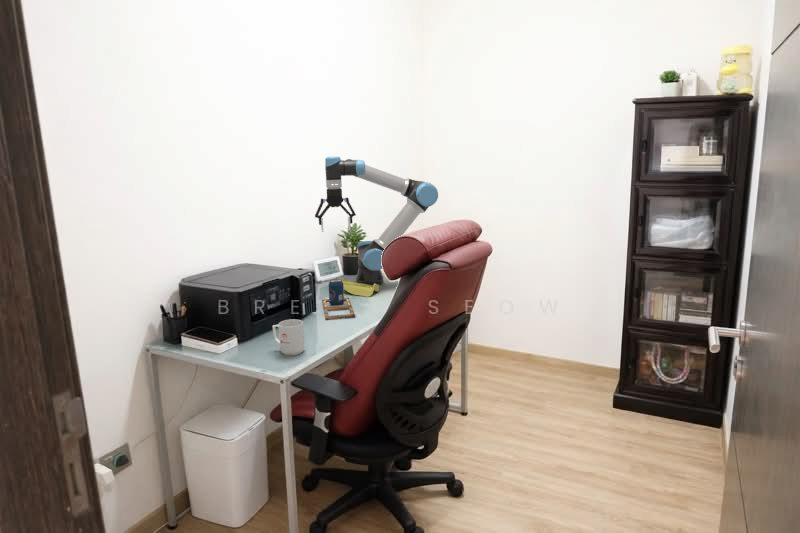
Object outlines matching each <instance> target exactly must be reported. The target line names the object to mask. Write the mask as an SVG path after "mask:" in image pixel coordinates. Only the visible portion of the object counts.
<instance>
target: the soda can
mask: <svg viewBox="0 0 800 533" xmlns="http://www.w3.org/2000/svg"><path fill="white" fill-rule="evenodd" d="M344 298H345V289H344V287H343V282H342V280H341V279H340V278H339V279H338V278H334V279H330V280H329V282H328V299H329V303H328V304H330V305H329V306H338V305H345V301H344Z"/></svg>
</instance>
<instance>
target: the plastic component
mask: <svg viewBox="0 0 800 533" xmlns="http://www.w3.org/2000/svg"><path fill="white" fill-rule="evenodd" d="M339 279H341V280H342V282H343V287H344V292H345V291H346V292H348V293H350V294H351V295H354V296H355V295H356V296H361V297H365V298H368V297H371V296H372V295H373V294H374V292H375V293H378V292H379V290H380V284H379V285H377V284H374V285H368V284H361V283H356V281H355V282H354V281H349V280H346V279H344V278H341V277H340V278H339Z"/></svg>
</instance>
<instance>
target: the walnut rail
mask: <svg viewBox="0 0 800 533" xmlns="http://www.w3.org/2000/svg"><path fill="white" fill-rule="evenodd" d="M346 301H347V302H346ZM327 302H329V298H324V299H322V300H321V303H322V307H323V313H324V318H325V321H329V320H330V321H331V320H332V321H333V320H341V319H342V318H345V319H355V318H356V313H355V311H354V308H353V305H352V303H351V300H350V298H349V297H344V302H346V304H343V305H338V306H331V305H328V306H327V304H328V303H327ZM347 304H348V305H347ZM347 309H349V310H350V311H349V310H347ZM337 310H338V311H349V312H350V313H346V314H337V315H336V314H335V315H334V314H333V315H329V312H338V311H337Z"/></svg>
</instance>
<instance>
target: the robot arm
mask: <svg viewBox="0 0 800 533" xmlns="http://www.w3.org/2000/svg"><path fill="white" fill-rule="evenodd" d="M324 161H325V162H324V164H325V166H324V167H325V185H326V186H325V187H326V198H322V197H321V198H320V203H319V205H318V208H317V210H316V212H315V214H314V218H316V219H318V224H319V226H321V227H320V228H321V232H324V219H323V218H322V217H324V215H325V214H326V213H327V211H328V210H329V208H330V207H331V208H339V207H340V208H342V210H343V211H344V212H345V213H346V214H347V215H348V216H347V221H348V222H347V224H348V225H347V227H348V231H351V230H352V229H351V228H352V227H351V224H353V217H356V215H357V214H356V212H355V210H354V208H353V207H352V205H351V203H350V198H349V197H343V190H342V176H343V177H345V176H353V177H356V178H359V179H361V180H365V181H367V182H370V183H372V184H375V185H378V186H381V187H384V188H386V189H389V190H392V191H395V192H397V193H400V194H401V196H402V197H406V204H405V205H404V206H403V207H402V209H401V210H400V211H399V212H398V214H396V216H395V217H394V218H393V219H392V221H391V222H390V223H389V225H388V226H387V228H385V230H384V231H383V232H382V233H381V234H380V236H379V237H378V238H377V239H373V240H363V241H362V240H361V241H359V242H357V257H358V258H357V259H358V270H357V273H356V278H355V283H361V284H368V285H374V284H377V285H379V286H380V285H382V284H383V283H385V282H384V276H383V272H382V269H383V268H382V266H381V255H382V252H383V250H384V248H385V247H386V246H387V245H388V244H389V243H390V242H391V241H392V240H394V239H395V238H397V237H399V236H401V235H402V236H403V235H404V234H405V233H406V232H407V230H408V229H409V227H410V226H411V225H412V224H413V223H414V221H415V220H417V217H419V215H420V214H423V213H424V214H425V212H426V211H427V210H428V209H429V207H432V206H434V204H436V203H437V201H438V198H439V191H438V189H437V187H436V186H435V185H434V184H432V183H431V182H427V181H426V182H425V181H421V180H416V179H411V178H408V177H407V178H403V177H400V176H397V175H395V174H392V173H390V172H387V171H383V170H381V169H378V168H376V167H372V166H370V165H367V164H366V163H365V161H364V160H363V159H351V158H347V159H345V160H343V159H341V157H340V156H327V157H325V159H324ZM343 202H344V203H346V204H347V206H348V209H349V210H350V211H351V212H350V211H349V210H348V209H347V208H346V207H345V206H344V205H343V204H342V203H343ZM325 203H327V204H326V206H325V207H324V209H323V210H322V207H323V206H324V204H325ZM321 210H322V211H321ZM320 212H321V213H320ZM402 236H401V237H402Z"/></svg>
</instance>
